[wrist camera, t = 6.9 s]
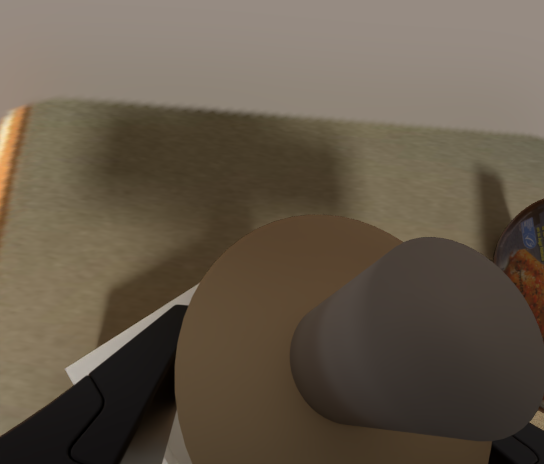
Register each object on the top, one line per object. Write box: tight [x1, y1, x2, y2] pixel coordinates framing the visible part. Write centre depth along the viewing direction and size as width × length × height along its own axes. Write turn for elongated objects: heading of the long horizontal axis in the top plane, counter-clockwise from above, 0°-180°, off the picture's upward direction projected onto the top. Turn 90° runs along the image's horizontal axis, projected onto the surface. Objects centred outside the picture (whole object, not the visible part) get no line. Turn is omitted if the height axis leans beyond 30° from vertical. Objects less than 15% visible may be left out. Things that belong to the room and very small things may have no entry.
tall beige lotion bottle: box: [175, 215, 544, 464], centre depth 9 cm, size 4×4×14 cm
